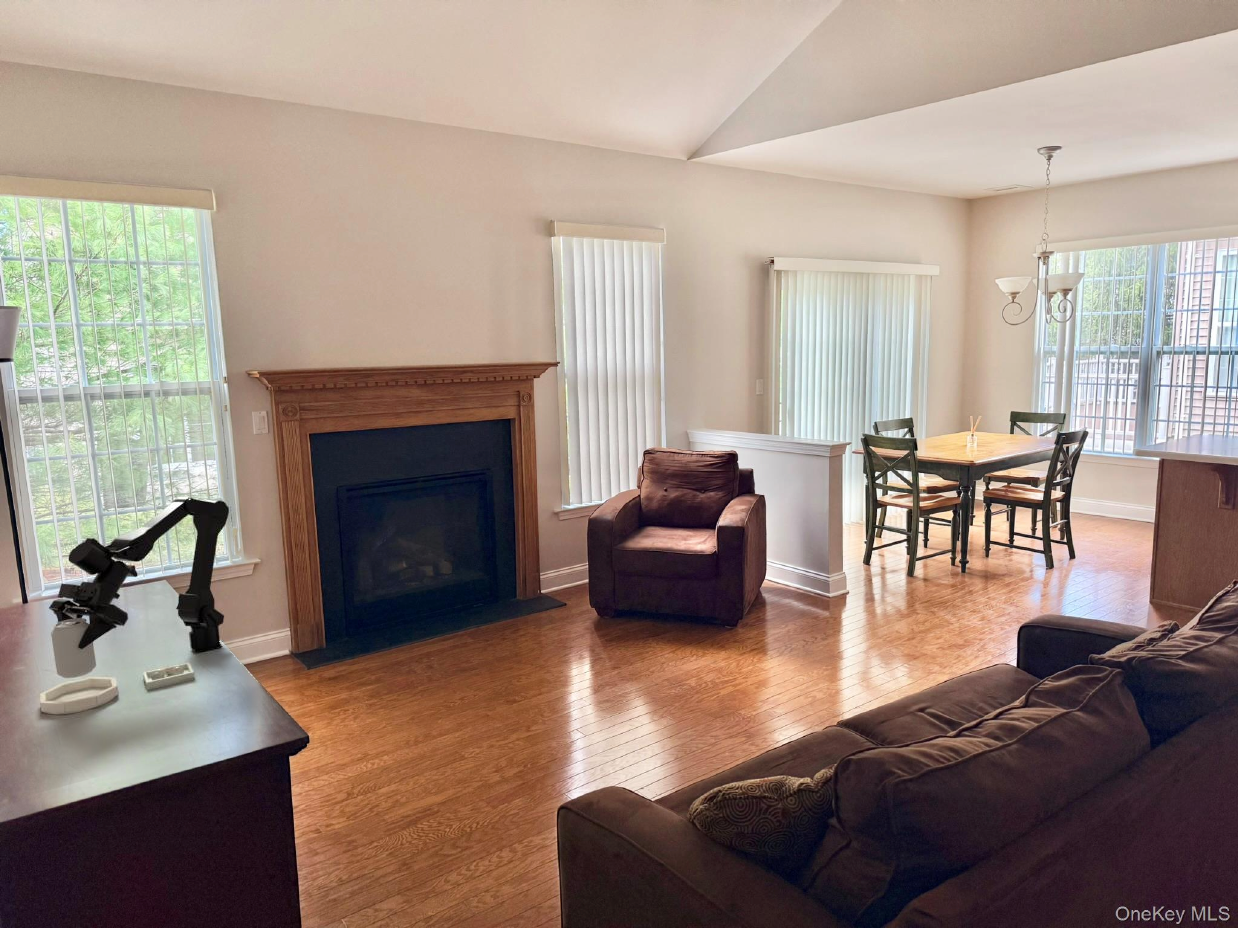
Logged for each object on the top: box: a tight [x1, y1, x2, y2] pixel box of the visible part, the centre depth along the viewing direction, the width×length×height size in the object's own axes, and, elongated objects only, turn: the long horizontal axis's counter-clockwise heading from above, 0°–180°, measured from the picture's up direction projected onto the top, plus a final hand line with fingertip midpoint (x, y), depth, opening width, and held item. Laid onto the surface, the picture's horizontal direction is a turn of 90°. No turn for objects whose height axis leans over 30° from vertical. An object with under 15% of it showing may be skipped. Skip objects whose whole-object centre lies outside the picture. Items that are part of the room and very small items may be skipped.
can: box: [50, 617, 97, 679], centre depth 188 cm, size 8×8×12 cm
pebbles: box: [152, 665, 184, 680], centre depth 200 cm, size 7×5×2 cm
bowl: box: [39, 676, 119, 716], centre depth 190 cm, size 15×15×3 cm
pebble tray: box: [142, 662, 196, 691], centre depth 201 cm, size 10×8×2 cm
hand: (67, 646), depth 187 cm, fingers closed on can, 7 cm apart
